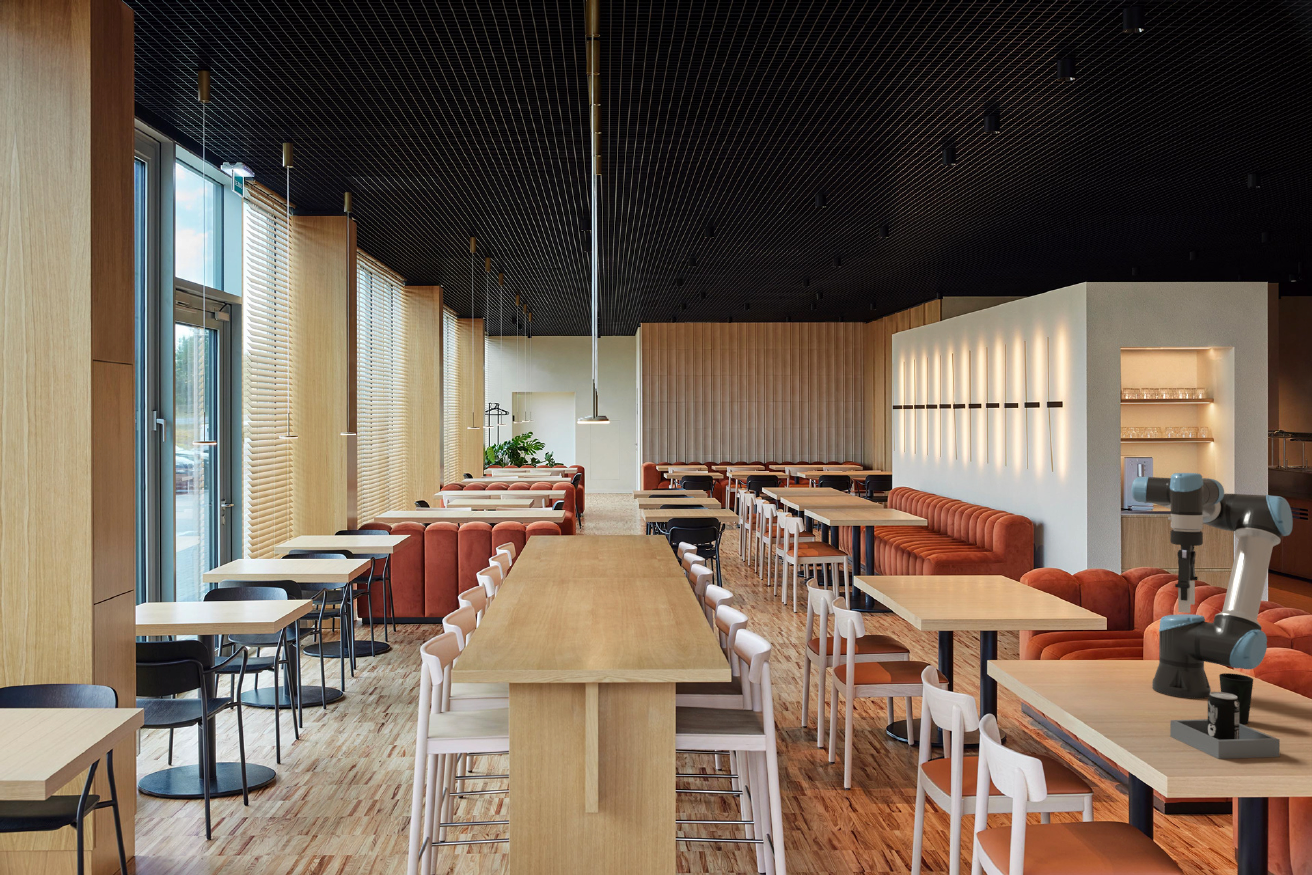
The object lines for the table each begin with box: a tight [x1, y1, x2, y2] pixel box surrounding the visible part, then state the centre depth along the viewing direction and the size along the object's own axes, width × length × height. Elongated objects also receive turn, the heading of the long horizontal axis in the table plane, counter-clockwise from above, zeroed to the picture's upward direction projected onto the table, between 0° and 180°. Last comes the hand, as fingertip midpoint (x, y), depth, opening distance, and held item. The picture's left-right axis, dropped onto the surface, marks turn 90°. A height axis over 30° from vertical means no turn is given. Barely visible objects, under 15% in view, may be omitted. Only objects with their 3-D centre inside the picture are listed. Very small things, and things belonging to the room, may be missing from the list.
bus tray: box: [1170, 718, 1280, 760], centre depth 216 cm, size 16×16×4 cm
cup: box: [1218, 672, 1254, 726], centre depth 237 cm, size 8×8×12 cm
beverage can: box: [1207, 691, 1239, 740], centre depth 216 cm, size 7×7×12 cm
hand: (1186, 608), depth 238 cm, fingers open, 13 cm apart
